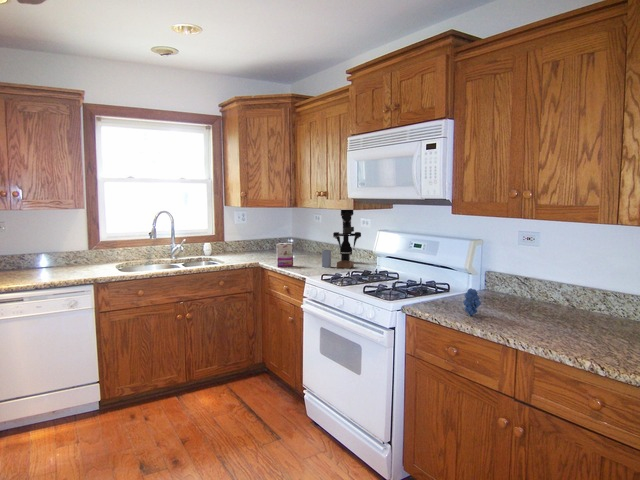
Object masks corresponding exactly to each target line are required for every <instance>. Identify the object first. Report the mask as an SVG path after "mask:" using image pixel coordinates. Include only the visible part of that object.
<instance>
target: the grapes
mask: <svg viewBox="0 0 640 480" xmlns="http://www.w3.org/2000/svg"><path fill="white" fill-rule="evenodd" d="M464 298H465V299H464V300H463V301H462V302H463V303H462V304H463V305H464V311H465V312H466V313H467V315H469V316H473V315H475V314H476V313H477V312H478V308H479V307H480V306H481V305H482V302H481V301H480V299H481V298H480V296H479V295H478V290H476V289H474V288H468V289H467V290H466V292H465V294H464Z"/></svg>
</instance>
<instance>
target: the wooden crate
mask: <svg viewBox="0 0 640 480" xmlns="http://www.w3.org/2000/svg"><path fill="white" fill-rule="evenodd" d="M354 263H355V262H354V261H353V260H350V261H341V260H340V261H337V262H336V269H346V270H350V269H353V268H354Z"/></svg>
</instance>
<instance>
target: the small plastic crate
mask: <svg viewBox="0 0 640 480" xmlns="http://www.w3.org/2000/svg"><path fill="white" fill-rule="evenodd" d="M322 267H324V269H329V267H330V268H332V249H322V250H321V268H322Z"/></svg>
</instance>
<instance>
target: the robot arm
mask: <svg viewBox="0 0 640 480" xmlns="http://www.w3.org/2000/svg"><path fill="white" fill-rule="evenodd" d="M353 215H354V209H353V210H341V209H340V216H341V219H342V233H340V232H339V231H334V232H333V234H332V235H333V236H332V238H334V239H336V241H337V242H338V245H339V255H341V257H340V258H341V260H340V261H351V259H350V256H351V255H353V248H355V246H356V244H357V243H356V242H357V240H358V239H360V238H361V237H362V233H361V232H360V231H356V232H355V226H352V216H353ZM341 237H343V238H342V239H343V241H342V242H341ZM349 237H354V238H353V248H352V246H351V243H350V241H349V240H350V238H349Z"/></svg>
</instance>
